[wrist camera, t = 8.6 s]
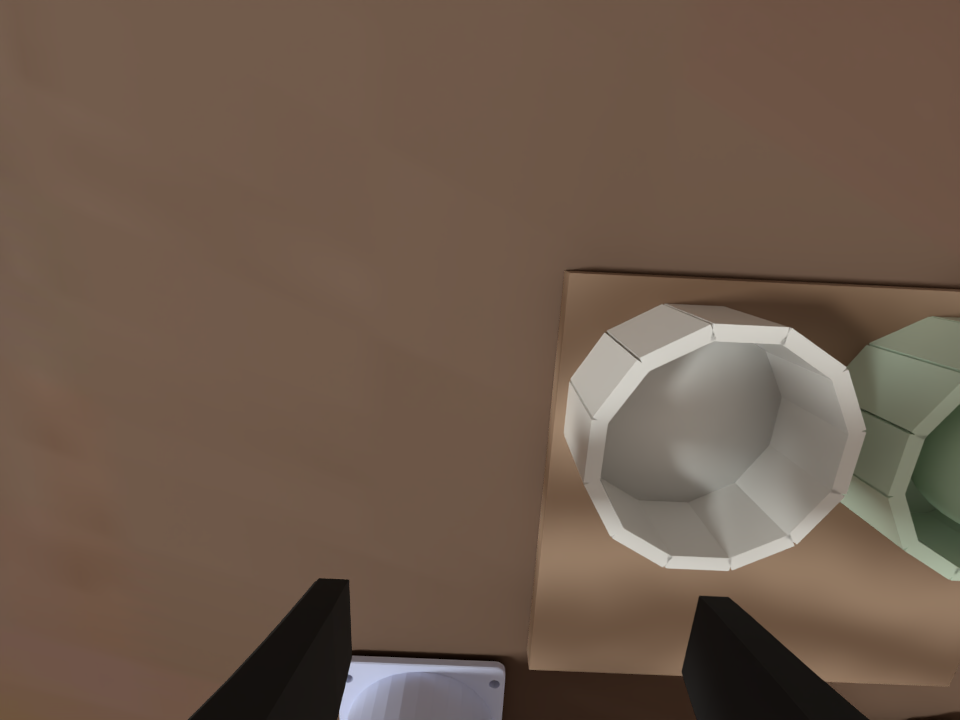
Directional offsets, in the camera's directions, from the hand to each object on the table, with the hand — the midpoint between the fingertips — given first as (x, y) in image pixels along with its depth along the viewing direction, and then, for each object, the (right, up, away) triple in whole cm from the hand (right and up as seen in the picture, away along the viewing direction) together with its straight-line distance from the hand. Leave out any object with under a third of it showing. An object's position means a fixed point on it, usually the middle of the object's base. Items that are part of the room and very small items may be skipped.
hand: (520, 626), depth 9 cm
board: (+12, 0, +10) cm, 15 cm away
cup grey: (+6, +4, +8) cm, 11 cm away
